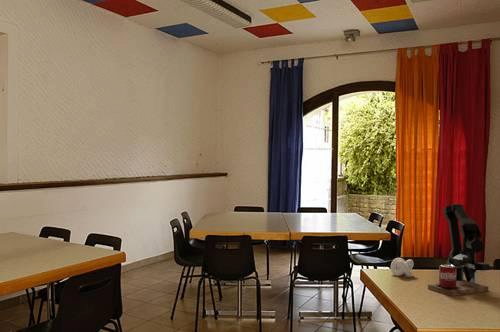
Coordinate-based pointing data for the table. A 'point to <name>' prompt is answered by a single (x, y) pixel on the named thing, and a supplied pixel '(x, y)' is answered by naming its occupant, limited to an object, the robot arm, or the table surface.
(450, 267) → the soda can
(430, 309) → the table surface
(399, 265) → the white rounded piece
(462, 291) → the brown piece
